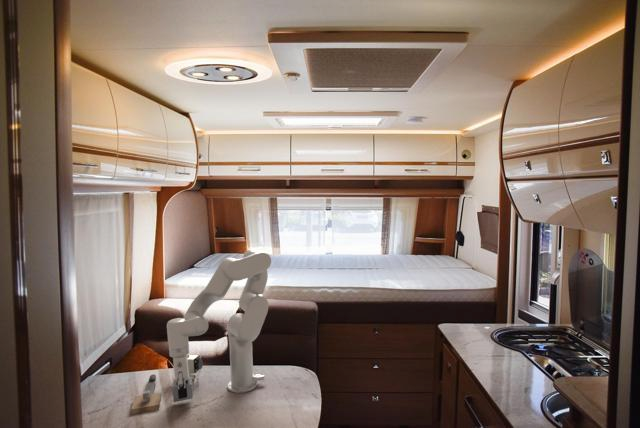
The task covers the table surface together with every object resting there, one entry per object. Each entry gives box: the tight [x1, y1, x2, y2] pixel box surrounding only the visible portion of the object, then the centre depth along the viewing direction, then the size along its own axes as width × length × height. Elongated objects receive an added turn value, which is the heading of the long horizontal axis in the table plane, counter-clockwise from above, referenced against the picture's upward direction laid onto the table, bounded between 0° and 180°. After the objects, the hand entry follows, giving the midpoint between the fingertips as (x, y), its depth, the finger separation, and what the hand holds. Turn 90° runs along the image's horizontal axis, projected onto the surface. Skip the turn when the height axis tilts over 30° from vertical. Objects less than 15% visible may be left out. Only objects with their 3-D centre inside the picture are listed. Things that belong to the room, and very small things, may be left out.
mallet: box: [130, 374, 163, 415], centre depth 171 cm, size 10×27×6 cm, turn 17°
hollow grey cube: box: [172, 376, 194, 403], centre depth 163 cm, size 7×7×6 cm
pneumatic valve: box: [187, 353, 204, 381], centre depth 183 cm, size 6×12×12 cm, turn 78°
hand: (183, 392), depth 163 cm, fingers closed on hollow grey cube, 7 cm apart
